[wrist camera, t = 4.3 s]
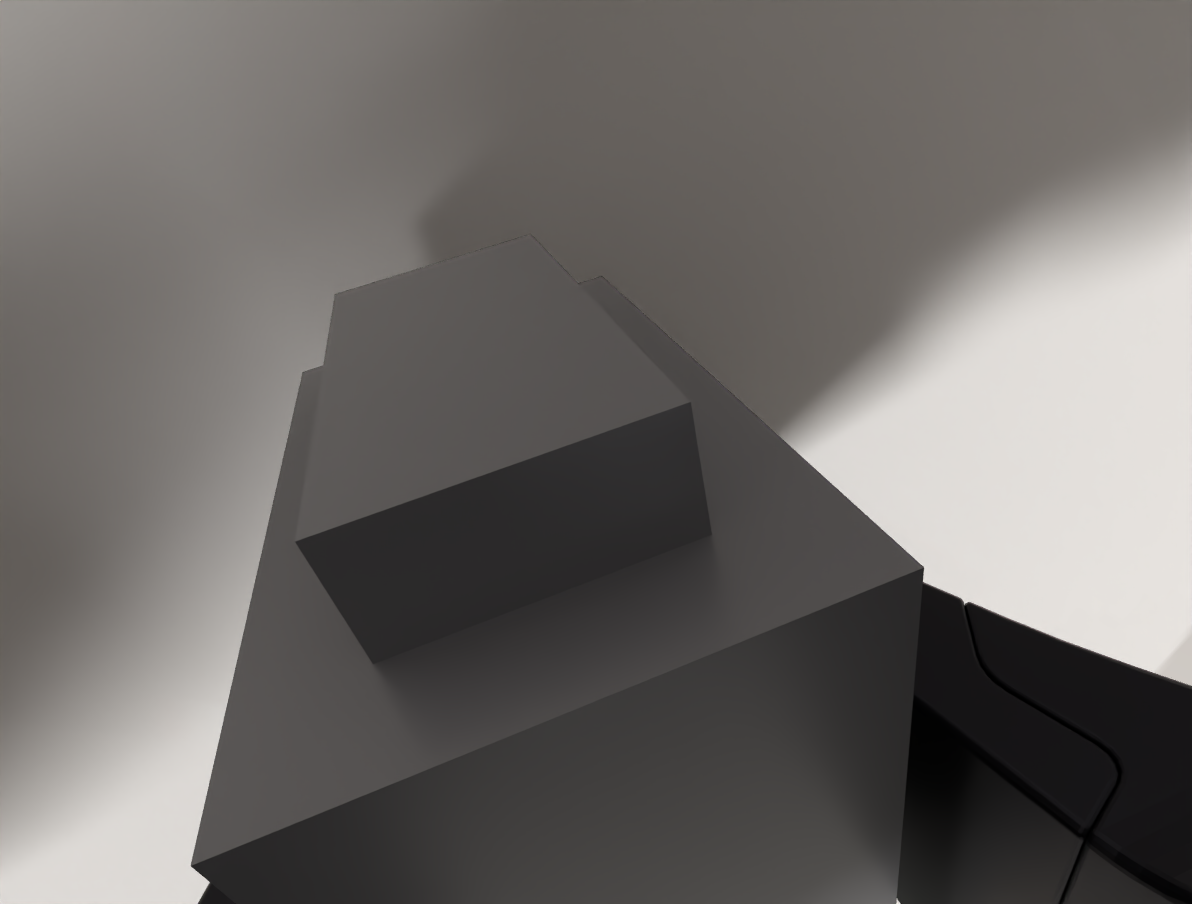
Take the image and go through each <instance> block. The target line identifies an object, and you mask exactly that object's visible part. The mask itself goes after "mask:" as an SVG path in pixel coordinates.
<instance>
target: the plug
mask: <svg viewBox="0 0 1192 904" xmlns="http://www.w3.org/2000/svg"><path fill="white" fill-rule="evenodd" d="M923 573H924V567H923V566H922V565H921V564H920V563H918V562H917V561H916V560H915V559H914V558H913V557H912V556H911V555H910V554H909V553H907V552H906V551H905V550H904V549H903V548H902V547H901V546H900V545H899V544H898V543H896V542H895V541H894V540H893V539H892V538H891V537H890V536H889V535H888V534H886V533H885V532H884V531H883V530H882V529H881V528H880V527H879V526H878V525H877V524H875V523H874V522H873V521H872V520H871V519H870V518H869V517H868V516H867V515H865V514H864V513H863V512H862V511H861V510H860V509H859V508H858V507H857V506H856V505H854V504H853V503H852V502H851V501H850V500H849V499H848V498H847V497H846V496H844V495H843V494H842V493H841V492H840V491H839V490H838V489H837V488H836V487H835V486H833V485H832V484H831V483H830V482H829V481H828V480H827V479H826V478H825V477H823V476H822V475H821V474H820V473H819V472H818V471H817V470H816V469H815V468H814V467H812V466H811V465H810V464H809V463H808V462H807V461H806V460H805V459H804V458H802V457H801V456H800V455H799V454H798V453H797V452H796V451H795V450H794V449H793V448H791V447H790V446H789V445H788V444H787V443H786V442H785V441H784V440H783V439H781V438H780V437H779V436H778V435H777V434H776V433H775V432H774V431H773V430H772V429H770V428H769V427H768V426H767V425H766V424H765V423H764V422H763V421H762V420H760V419H759V418H758V417H757V416H756V415H755V414H754V413H753V412H752V411H751V410H749V409H748V408H747V407H746V406H745V405H744V404H743V403H742V402H741V401H740V400H738V399H737V398H736V397H735V396H734V395H733V394H732V393H731V392H730V391H728V390H727V389H726V388H725V387H724V386H723V385H722V384H721V383H720V382H719V381H717V380H716V379H715V378H714V377H713V376H712V375H711V374H710V373H709V372H707V371H706V370H705V369H704V368H703V367H702V366H701V365H700V364H699V363H698V362H696V361H695V360H694V359H693V358H692V357H691V356H690V355H689V354H688V353H686V352H685V351H684V350H683V349H682V348H681V347H680V346H679V345H678V344H677V343H675V342H674V341H673V340H672V339H671V338H670V337H669V336H668V335H667V334H665V333H664V332H663V331H662V330H661V329H660V328H659V327H658V326H657V325H656V324H654V323H653V322H652V321H651V320H650V319H649V318H648V317H647V316H646V315H644V314H643V313H642V312H641V311H640V310H639V309H638V308H637V307H636V306H635V305H633V304H632V303H631V302H630V301H629V300H628V299H627V298H626V297H625V296H623V295H622V294H621V293H620V292H619V291H618V290H617V289H616V288H615V287H614V286H612V285H611V284H610V283H609V282H608V281H607V280H606V279H605V278H604V277H602V276H601V277H598V278H594V279H591V280H588V281H585V282H582V283H579V284H578V283H577V282H576V281H575V280H574V279H573V278H572V277H571V276H570V275H569V274H568V273H567V272H566V271H565V269H564V268H563V267H562V266H561V265H560V264H559V263H558V262H557V261H556V260H555V259H554V258H553V257H552V256H551V255H550V254H549V253H548V252H547V251H546V250H545V249H544V248H543V246H542V245H541V244H540V243H539V242H538V241H537V240H536V239H535V238H534V237H533V236H532V235H531V234H529V235H526V236H523V237H519V238H516V239H513V240H510V241H506V242H503V243H500V244H497V245H493V246H490V247H487V248H484V249H480V250H477V251H474V252H471V253H467V254H464V255H461V256H458V257H454V258H451V259H448V260H445V261H442V262H438V263H435V264H432V265H429V266H425V267H422V268H419V269H416V270H412V271H409V272H406V273H403V274H399V275H396V276H393V277H390V278H386V279H383V280H380V281H377V282H373V283H370V284H367V285H364V286H360V287H357V288H354V289H351V290H347V291H344V292H341V293H338V294H335V297H334V303H333V310H332V316H331V322H330V328H329V334H328V340H327V346H326V353H325V359H324V365H323V366H320V367H317V368H314V369H311V370H308V371H305V372H303V373H302V377H301V382H300V386H299V391H298V395H297V399H296V404H295V408H294V413H293V417H292V422H291V426H290V430H289V435H288V439H287V444H286V448H285V452H284V457H283V461H282V466H281V470H280V474H279V479H278V483H277V488H276V492H275V496H274V501H273V505H272V510H271V514H270V518H269V523H268V527H267V532H266V536H265V541H264V545H263V549H262V554H261V558H260V563H259V567H258V571H257V576H256V580H255V585H254V589H253V593H252V598H251V602H250V607H249V611H248V615H247V620H246V624H245V629H244V633H243V637H242V642H241V646H240V651H239V655H238V660H237V664H236V668H235V673H234V677H233V682H232V686H231V690H230V695H229V699H228V704H227V708H226V712H225V717H224V721H223V726H222V730H221V734H220V739H219V743H218V748H217V752H216V756H215V761H214V765H213V770H212V774H211V779H210V783H209V787H208V792H207V796H206V801H205V805H204V809H203V814H202V818H201V823H200V827H199V831H198V836H197V840H196V845H195V849H194V853H193V858H192V862H191V867H193V868H194V869H195V870H196V871H197V872H199V873H200V874H201V875H202V876H203V877H205V878H206V879H207V880H208V881H209V882H211V883H212V884H213V885H214V886H215V887H217V888H218V889H219V890H220V891H221V892H223V893H224V894H225V895H226V896H227V897H228V898H230V899H231V900H232V901H233V902H234V903H236V904H896V899H897V887H898V875H899V863H900V851H901V839H902V827H903V815H904V803H905V790H906V778H907V766H908V754H909V742H910V730H911V718H912V706H913V694H914V682H915V670H916V658H917V645H918V633H919V621H920V609H921V597H922V585H923Z"/></svg>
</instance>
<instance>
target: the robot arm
mask: <svg viewBox="0 0 1192 904" xmlns="http://www.w3.org/2000/svg"><path fill="white" fill-rule="evenodd" d="M897 899H898V900H899V902H900V903H901V904H1192V686H1190V685H1188V684H1185V683H1181V682H1179V681H1176V680H1173V679H1170V678H1167V677H1164V676H1161V675H1158V674H1156V673H1153V672H1150V671H1147V670H1144V669H1141V668H1138V667H1135V666H1132V665H1129V664H1127V663H1124V662H1121V661H1118V660H1116V659H1113V658H1110V657H1107V656H1105V655H1102V654H1099V653H1096V652H1094V651H1091V650H1088V649H1085V648H1083V647H1080V646H1077V645H1074V644H1072V643H1069V642H1066V641H1063V640H1061V639H1058V638H1056V637H1053V636H1051V635H1049V634H1046V633H1044V632H1041V631H1039V630H1036V629H1034V628H1031V627H1029V626H1026V625H1024V624H1021V623H1019V622H1016V621H1014V620H1011V619H1009V618H1006V617H1004V616H1002V615H999V614H997V613H995V612H992V611H990V610H988V609H985V608H983V607H981V606H978V605H976V604H974V603H971V602H968V603H966V604H965V605H964V602H963V600H962V599H961V598H959V597H957V596H954V595H952V594H950V593H947V592H945V591H943V590H940V589H938V588H936V587H933V586H931V585H929V584H926V583H924V582H923V585H922V597H921V609H920V621H919V633H918V645H917V658H916V670H915V682H914V694H913V706H912V718H911V730H910V742H909V754H908V766H907V778H906V790H905V803H904V815H903V827H902V839H901V851H900V863H899V875H898V887H897ZM198 904H236V903H234V902H233V901H232V900H231V899H230V898H228V897H227V896H226V895H225V894H224V893H223V892H221V891H220V890H219V889H218V888H217V887H215V886H214V885H213V884H212V883H211V882H210V883H209V885H208V886H207V888H206V890H205V892H204V893H203V895H202V897H201V899H200V901H199V902H198Z"/></svg>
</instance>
